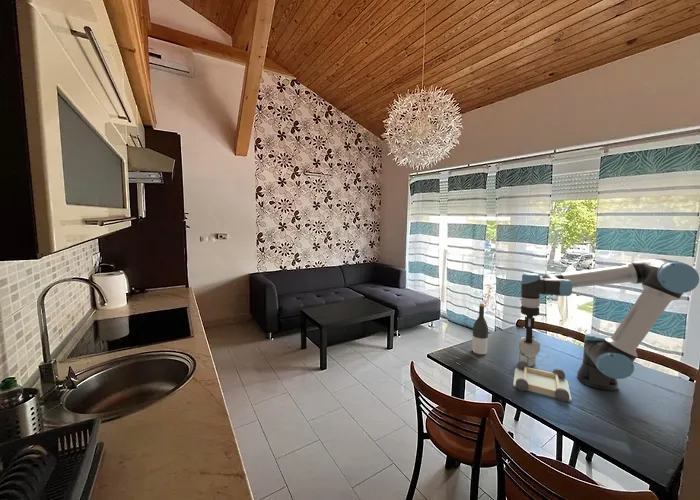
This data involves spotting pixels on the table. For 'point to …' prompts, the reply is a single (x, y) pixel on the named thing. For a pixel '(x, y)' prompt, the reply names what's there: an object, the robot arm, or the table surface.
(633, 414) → the table surface
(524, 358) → the syrup box
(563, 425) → the table surface
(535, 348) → the die
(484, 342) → the wine bottle
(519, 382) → the chassis
